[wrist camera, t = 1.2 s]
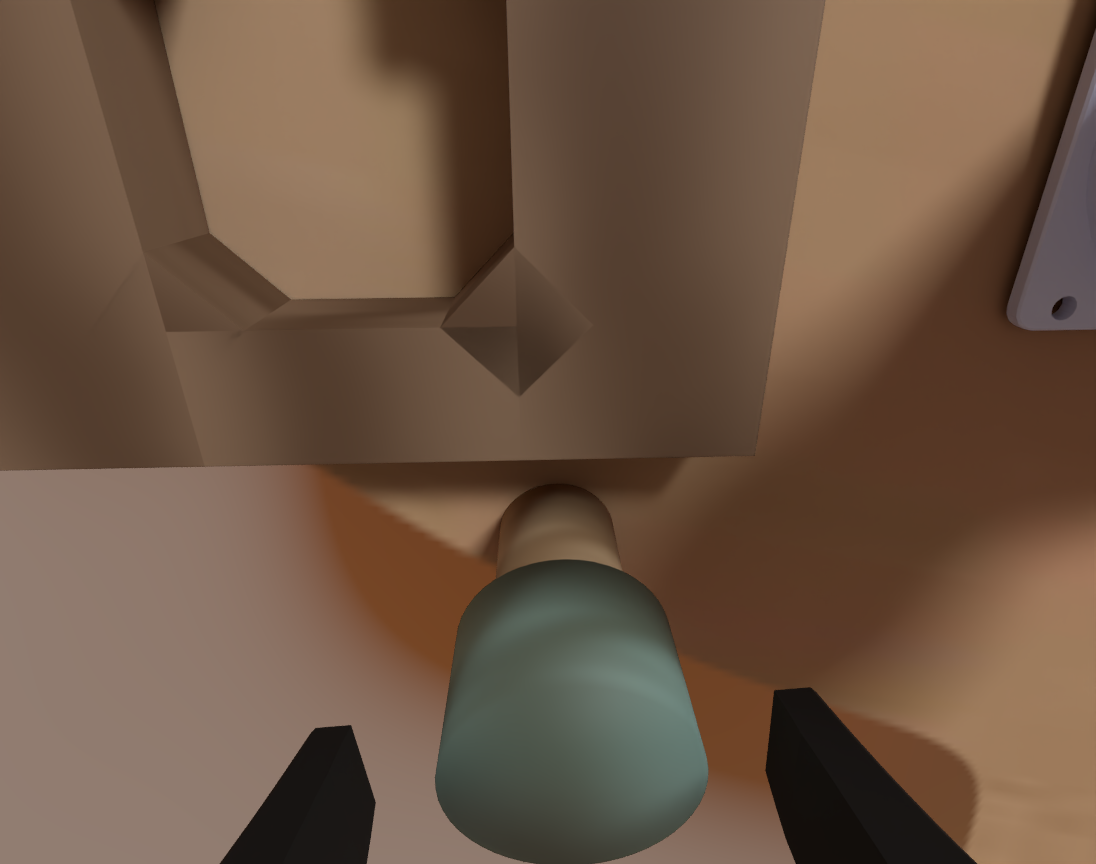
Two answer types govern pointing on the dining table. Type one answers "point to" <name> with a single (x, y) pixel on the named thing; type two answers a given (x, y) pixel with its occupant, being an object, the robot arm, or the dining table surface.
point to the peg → (566, 698)
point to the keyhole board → (408, 323)
